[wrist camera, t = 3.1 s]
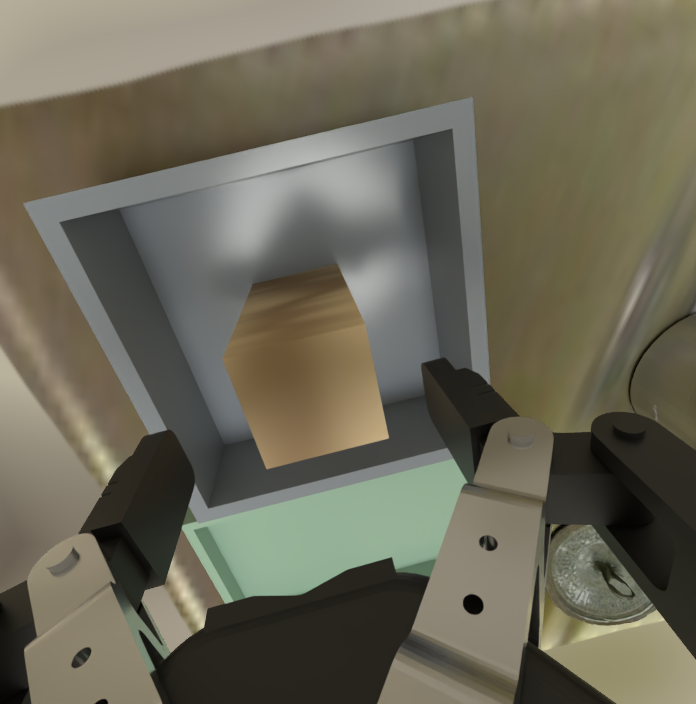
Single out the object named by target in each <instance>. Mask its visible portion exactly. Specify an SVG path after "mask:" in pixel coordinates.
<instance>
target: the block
mask: <svg viewBox="0 0 696 704" xmlns="http://www.w3.org/2000/svg"><path fill="white" fill-rule="evenodd" d="M222 360H223V362H224V365H225V367H226V370H227V372H228V375H229V377H230V380H231V382H232V385H233V387H234V390H235V392H236V395H237V397H238V400H239V402H240V405H241V407H242V410H243V412H244V415H245V417H246V420H247V422H248V425H249V427H250V430H251V432H252V435H253V437H254V439H255V442H256V444H257V447H258V449H259V452H260V454H261V457H262V459H263V462H264V464H265V467H266V469H270V468H274V467H278V466H282V465H286V464H290V463H294V462H298V461H301V460H305V459H309V458H313V457H317V456H321V455H325V454H329V453H333V452H337V451H341V450H345V449H349V448H353V447H357V446H361V445H365V444H369V443H373V442H377V441H381V440H385V439H388V438H389V435H388V431H387V426H386V421H385V416H384V411H383V407H382V402H381V397H380V392H379V388H378V383H377V378H376V373H375V368H374V364H373V359H372V354H371V349H370V345H369V340H368V335H367V330H366V325H365V322H364V320H363V318H362V316H361V314H360V312H359V309H358V307H357V305H356V303H355V301H354V299H353V296H352V294H351V292H350V290H349V288H348V286H347V283H346V281H345V279H344V277H343V275H342V273H341V270H340V268H339V266H338V264H333V265H329V266H325V267H321V268H317V269H313V270H309V271H305V272H300V273H296V274H292V275H288V276H284V277H280V278H276V279H272V280H268V281H263V282H259V283H255V284H252V287H251V289H250V292H249V294H248V297H247V299H246V302H245V304H244V307H243V309H242V312H241V314H240V317H239V319H238V321H237V324H236V326H235V329H234V331H233V334H232V336H231V339H230V341H229V344H228V346H227V349H226V351H225V354H224V356H223V358H222Z"/></svg>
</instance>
